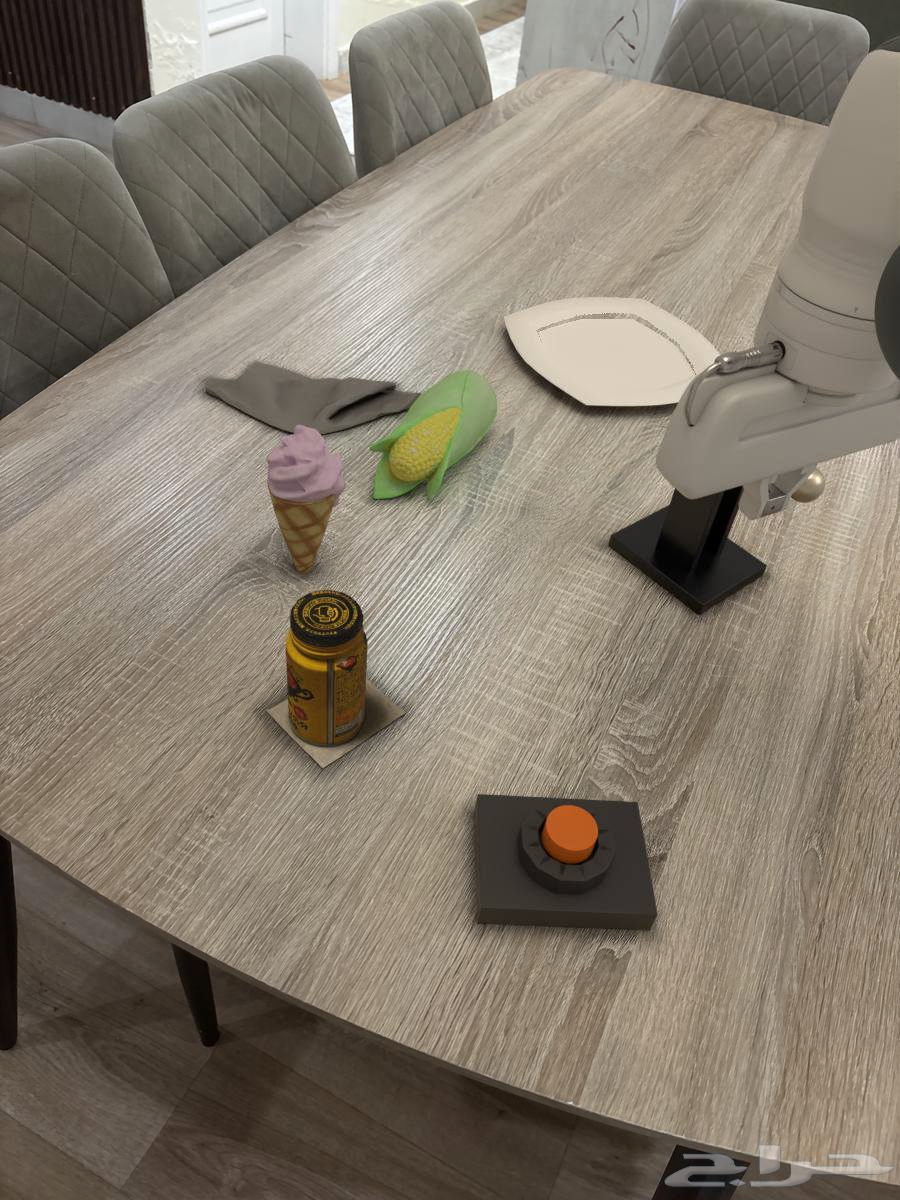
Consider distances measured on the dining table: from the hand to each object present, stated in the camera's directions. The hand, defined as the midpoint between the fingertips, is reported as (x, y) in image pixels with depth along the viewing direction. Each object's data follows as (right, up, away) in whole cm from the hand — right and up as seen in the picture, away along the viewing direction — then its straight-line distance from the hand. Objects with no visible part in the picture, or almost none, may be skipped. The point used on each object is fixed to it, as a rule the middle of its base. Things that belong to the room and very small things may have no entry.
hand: (760, 510), depth 66 cm
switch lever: (+6, +3, +17) cm, 18 cm away
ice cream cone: (-35, -4, +21) cm, 41 cm away
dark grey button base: (-14, -26, +1) cm, 29 cm away
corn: (-23, +9, +36) cm, 44 cm away
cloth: (-37, +16, +42) cm, 58 cm away
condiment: (-31, -16, +10) cm, 36 cm away
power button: (-14, -23, -1) cm, 27 cm away
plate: (-1, +25, +56) cm, 61 cm away
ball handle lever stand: (+2, -2, +28) cm, 28 cm away
